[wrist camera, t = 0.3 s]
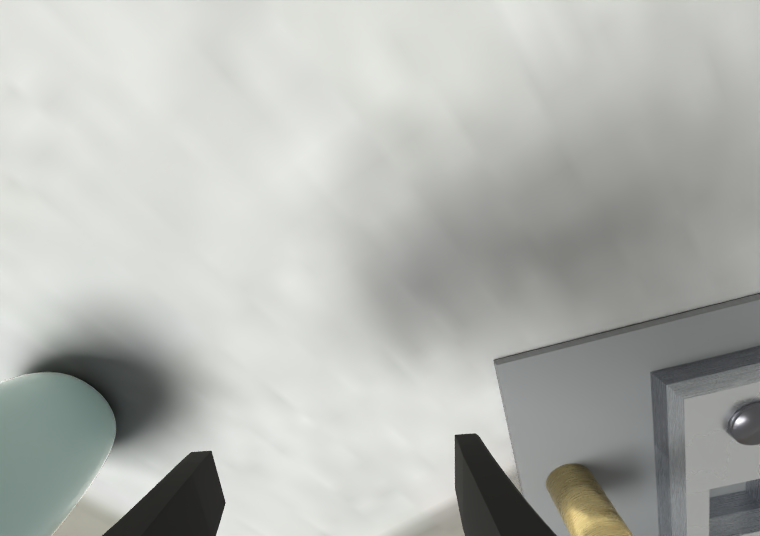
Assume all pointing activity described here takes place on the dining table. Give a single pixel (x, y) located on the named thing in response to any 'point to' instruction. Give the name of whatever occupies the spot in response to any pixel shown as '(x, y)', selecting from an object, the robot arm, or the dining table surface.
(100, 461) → the cup
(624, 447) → the mat
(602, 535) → the pin
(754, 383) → the latch strike plate
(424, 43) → the dining table surface
